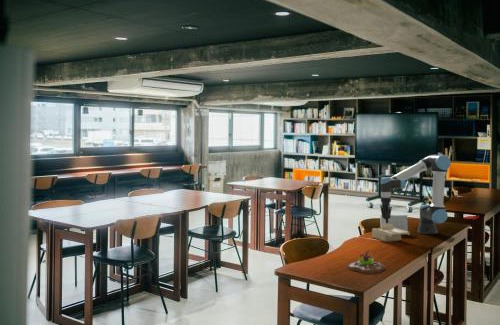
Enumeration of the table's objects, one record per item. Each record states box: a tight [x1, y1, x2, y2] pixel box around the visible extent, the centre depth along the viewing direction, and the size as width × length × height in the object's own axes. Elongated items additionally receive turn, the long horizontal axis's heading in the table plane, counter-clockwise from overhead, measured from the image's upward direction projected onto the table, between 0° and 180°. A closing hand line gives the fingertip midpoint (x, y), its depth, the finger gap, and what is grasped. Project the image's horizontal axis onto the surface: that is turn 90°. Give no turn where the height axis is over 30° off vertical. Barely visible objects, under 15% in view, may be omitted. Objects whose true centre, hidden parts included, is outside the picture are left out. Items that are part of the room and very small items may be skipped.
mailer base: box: [371, 227, 402, 243], centre depth 356 cm, size 14×18×7 cm
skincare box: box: [379, 214, 409, 236], centre depth 373 cm, size 21×6×16 cm, turn 84°
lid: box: [378, 225, 410, 237], centre depth 347 cm, size 16×18×5 cm
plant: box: [347, 249, 386, 275], centre depth 275 cm, size 20×20×11 cm
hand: (386, 227), depth 356 cm, fingers closed
